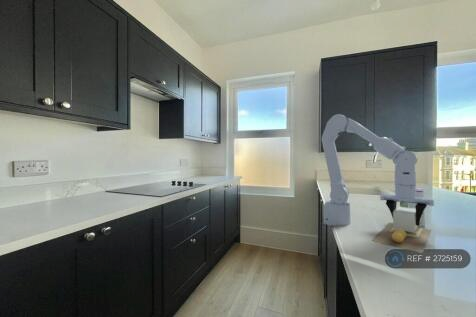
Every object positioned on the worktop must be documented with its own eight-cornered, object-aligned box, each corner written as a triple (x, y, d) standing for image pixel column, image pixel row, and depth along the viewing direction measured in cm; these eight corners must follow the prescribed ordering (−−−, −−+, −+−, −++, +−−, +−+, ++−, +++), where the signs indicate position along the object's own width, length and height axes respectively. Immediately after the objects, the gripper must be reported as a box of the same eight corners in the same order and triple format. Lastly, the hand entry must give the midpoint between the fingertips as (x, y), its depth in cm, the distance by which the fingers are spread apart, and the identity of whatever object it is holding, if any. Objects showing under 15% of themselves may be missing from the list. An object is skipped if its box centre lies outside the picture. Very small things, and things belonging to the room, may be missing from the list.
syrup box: (425, 227, 77) (424, 189, 77) (408, 226, 79) (407, 189, 78) (416, 222, 83) (415, 186, 83) (399, 221, 84) (398, 186, 84)
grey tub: (393, 228, 71) (392, 211, 71) (398, 222, 77) (398, 206, 77) (414, 232, 67) (414, 214, 67) (418, 225, 73) (417, 208, 73)
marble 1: (393, 238, 65) (393, 229, 65) (395, 236, 67) (395, 227, 67) (405, 241, 63) (405, 231, 63) (407, 238, 65) (407, 229, 65)
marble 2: (390, 242, 63) (390, 232, 63) (393, 239, 65) (392, 230, 65) (403, 245, 61) (403, 235, 60) (405, 242, 63) (404, 232, 63)
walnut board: (371, 243, 64) (371, 240, 64) (389, 225, 80) (389, 222, 80) (422, 256, 55) (422, 252, 55) (431, 232, 72) (431, 229, 72)
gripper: (377, 184, 75) (378, 221, 75) (432, 187, 64) (433, 230, 64) (382, 182, 79) (383, 217, 79) (434, 185, 69) (435, 225, 69)
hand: (406, 222), depth 72 cm, fingers closed on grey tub, 6 cm apart
